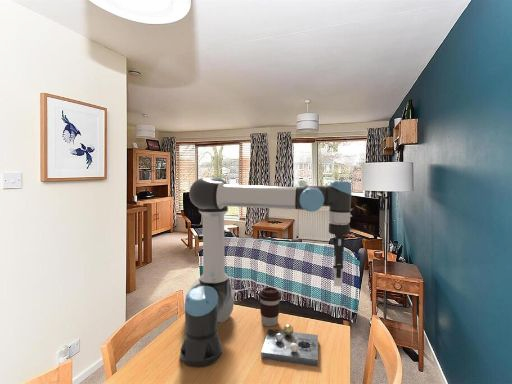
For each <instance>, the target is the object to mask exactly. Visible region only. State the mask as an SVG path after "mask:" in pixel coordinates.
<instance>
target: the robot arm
mask: <svg viewBox="0 0 512 384" xmlns="http://www.w3.org/2000/svg"><path fill="white" fill-rule="evenodd" d="M188 192H189V193H188V194H189V195H188V196H189V199H190V202H191V203H192V204H193V205H194V207H197V208H198V212H199V213H200V215H201V216H202V250H203V251H202V256H203V257H202V258H203V259H202V260H203V262H202V265H203V266H202V267H203V268H202V269H203V273H202V274H201V275H200V277H199V278H200V287H197V288H193V289H192V290H190V289H189V290H188V292H187V293H186V295H185V300H184V301H185V302H184V325H185V326H184V331H185V332H184V333H185V334H184V337H183V341H182V344H181V347H180V349H179V350H180V352H179V353H180V354H179V355H180V360H181V361H182V363H183V364H184V365H186V366H189V367H195V368H200V367H207V366H211V365H212V364H215V363H216V362H218V361H219V359H221V357H222V355H223V345H222V341H221V338H220V336H219V332H218V322H217V319H218V314H219V313H220V311H221V310H222V309H223V307H224V306H225V305H226V303H227V302H228V301H229V299H230V296H231V291H232V289H233V288H232V289H231V287H232V285H231V282H230V281H229V275H228V274H227V273H226V272H225V270H226V269H225V268H226V267H225V214H226V213H228V211H229V207H232V208H233V207H234V208H235V207H236V208H238V207H239V208H260V209H261V208H262V209H278V210H280V209H283V210H284V209H285V210H298V211H303V210H304V211H307V212H312V213H314V212H317V211H319V210H320V209H321V208H322V207H329V210H328V222H329V223H328V233H329V234H331V235H334V237H333V238H332V240H333V242H332V243H333V265H332V270H333V271H332V273H333V274H334V276H333V280H334V281H333V287H338V288H339V287H340V288H342V287H343V272H344V271H343V268H344V250H345V242H346V241H345V237H343V236H348V235H350V233H351V232H350V231H351V225H350V222H351V218H352V217H353V215H352V214H351V210H352V208H351V207H352V206H351V205H352V183H351V182H350V181H345V180H344V181H343V180H332V181H330V183H329V185H327V186H324V185H323V186H322V185H307V184H306V185H298V186H278V185H277V186H275V185H273V186H271V185H246V184H245V185H243V184H242V185H241V184H228V182H227V181H226V180H225V179H223V178H219V177H214V176H213V177H212V176H211V177H202V178H199V179H196V180H195V181H194V182H193V183H192V184H191V185H190V187H189V191H188Z"/></svg>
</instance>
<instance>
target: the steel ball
mask: <svg viewBox="0 0 512 384" xmlns="http://www.w3.org/2000/svg"><path fill="white" fill-rule="evenodd" d="M275 340H276V341H277V342H282V341H283V335H282V334H281V333H277V334H276V335H275Z"/></svg>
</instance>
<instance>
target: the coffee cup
mask: <svg viewBox="0 0 512 384" xmlns="http://www.w3.org/2000/svg"><path fill="white" fill-rule="evenodd" d="M258 298H259V299H260V300H259V308H260V311H259V312H260V317H261V318H260V321H261V324H262V325H264V326H266V327H274V326H277V324H278V323H279V315H280V305H281V298H282V292H281V291H279V290H278V288H276V287H273V286H268V287H263V288H262V290H259V291H258Z"/></svg>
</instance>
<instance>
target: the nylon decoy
mask: <svg viewBox="0 0 512 384" xmlns="http://www.w3.org/2000/svg"><path fill="white" fill-rule="evenodd" d="M290 350H291V351H292V352H297V350H298V345H297V344H296V343H292V344H291V345H290Z"/></svg>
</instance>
